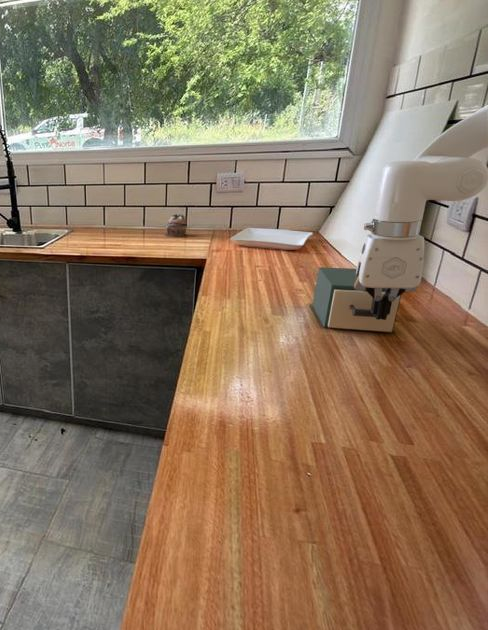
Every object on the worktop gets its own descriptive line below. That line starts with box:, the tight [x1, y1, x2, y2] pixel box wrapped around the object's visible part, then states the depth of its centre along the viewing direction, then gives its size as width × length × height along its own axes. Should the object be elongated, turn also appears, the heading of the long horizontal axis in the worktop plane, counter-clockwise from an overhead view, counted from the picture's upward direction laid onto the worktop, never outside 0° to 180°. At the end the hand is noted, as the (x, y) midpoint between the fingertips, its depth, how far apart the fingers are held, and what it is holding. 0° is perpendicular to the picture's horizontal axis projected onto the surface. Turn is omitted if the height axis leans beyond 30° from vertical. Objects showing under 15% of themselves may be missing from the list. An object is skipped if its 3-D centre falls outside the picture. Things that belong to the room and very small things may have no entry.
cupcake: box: [165, 213, 188, 238], centre depth 208 cm, size 10×10×10 cm
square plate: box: [230, 227, 314, 251], centre depth 186 cm, size 27×27×4 cm
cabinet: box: [311, 266, 403, 334], centre depth 107 cm, size 16×14×11 cm
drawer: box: [328, 289, 401, 333], centre depth 103 cm, size 19×12×9 cm, turn 162°
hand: (378, 317), depth 93 cm, fingers closed
